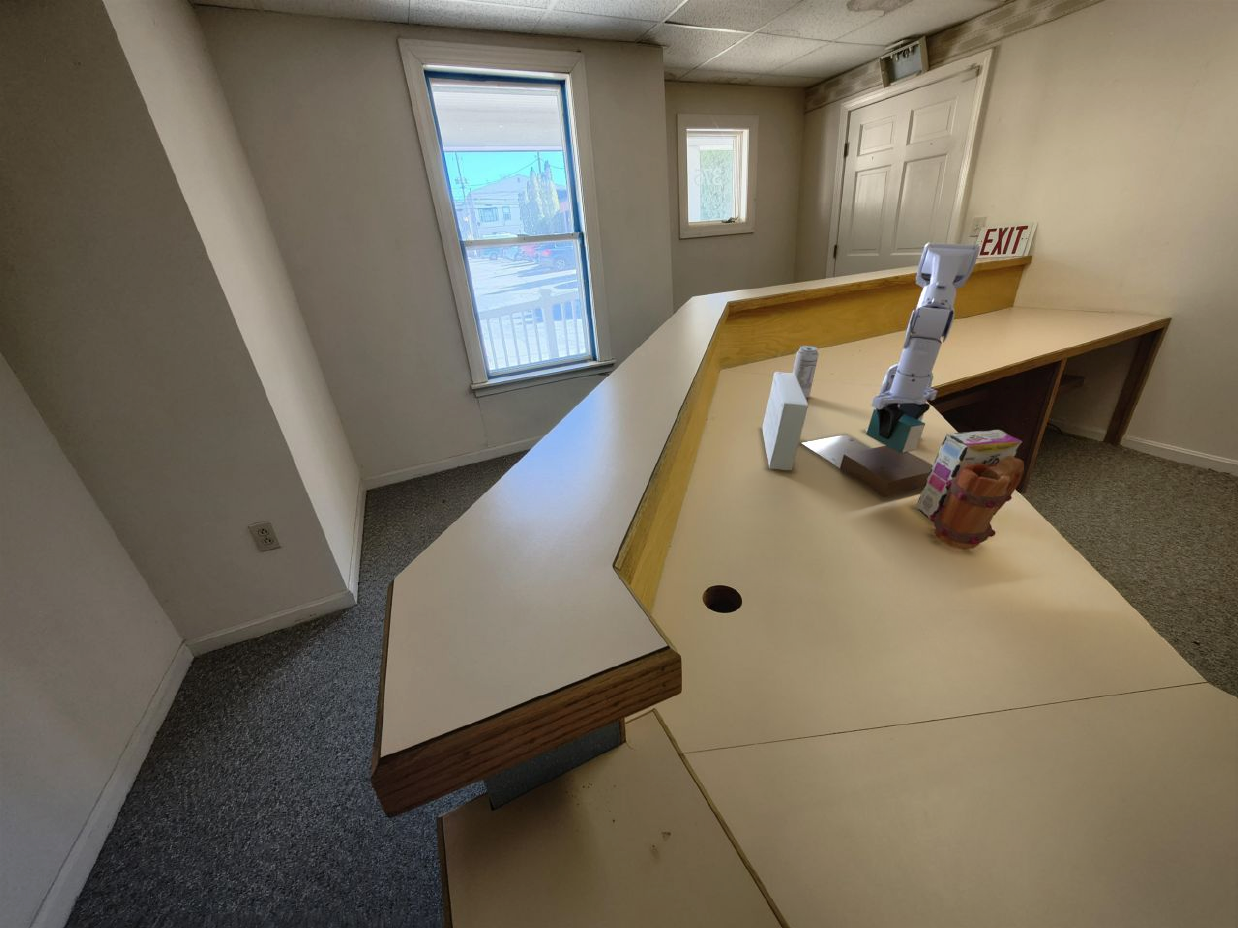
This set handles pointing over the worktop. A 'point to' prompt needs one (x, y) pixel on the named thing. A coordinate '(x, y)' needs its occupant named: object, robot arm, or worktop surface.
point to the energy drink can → (805, 367)
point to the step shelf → (874, 464)
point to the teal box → (898, 433)
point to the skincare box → (784, 420)
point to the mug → (976, 502)
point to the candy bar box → (962, 463)
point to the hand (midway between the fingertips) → (892, 435)
